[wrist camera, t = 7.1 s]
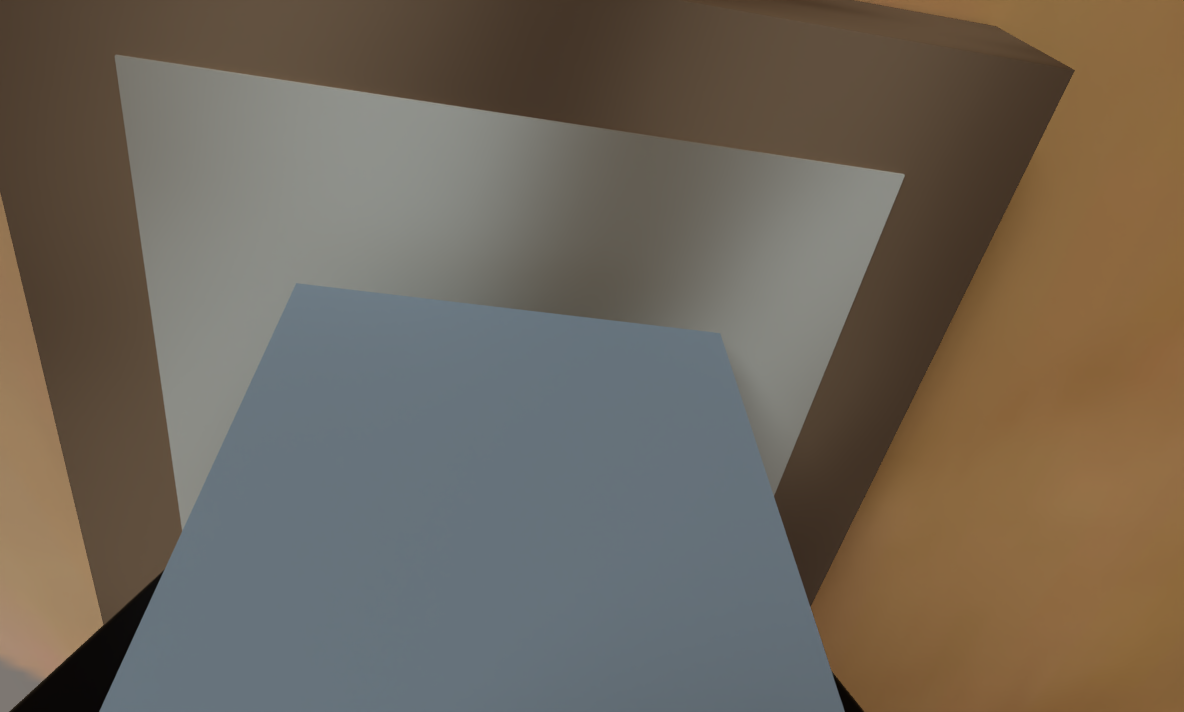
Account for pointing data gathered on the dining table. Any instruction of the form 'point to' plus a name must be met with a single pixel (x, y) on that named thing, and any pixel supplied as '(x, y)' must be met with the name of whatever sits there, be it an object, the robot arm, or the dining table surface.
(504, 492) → the slate-blue block
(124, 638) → the robot arm
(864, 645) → the dining table surface
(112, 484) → the walnut pedestal
